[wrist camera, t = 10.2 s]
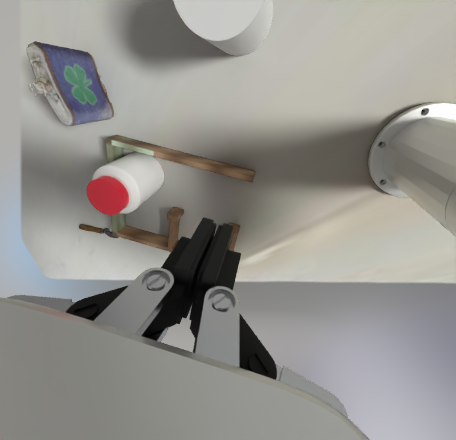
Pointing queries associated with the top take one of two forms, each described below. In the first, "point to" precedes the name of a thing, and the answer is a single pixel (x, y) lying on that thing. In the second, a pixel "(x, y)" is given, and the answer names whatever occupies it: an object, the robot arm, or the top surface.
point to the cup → (228, 22)
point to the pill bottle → (125, 183)
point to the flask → (69, 83)
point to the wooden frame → (165, 243)
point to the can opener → (96, 230)
